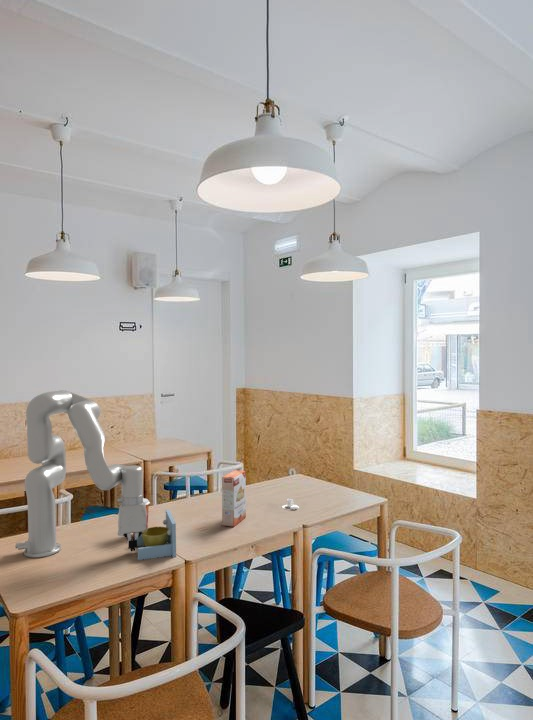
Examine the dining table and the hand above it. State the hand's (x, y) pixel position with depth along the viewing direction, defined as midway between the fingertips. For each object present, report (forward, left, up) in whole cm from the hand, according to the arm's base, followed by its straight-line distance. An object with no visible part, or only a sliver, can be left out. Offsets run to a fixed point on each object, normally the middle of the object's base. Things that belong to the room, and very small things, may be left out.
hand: (132, 549), depth 188 cm
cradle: (+7, 0, -1) cm, 7 cm away
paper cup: (+4, +19, -1) cm, 20 cm away
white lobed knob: (+72, +30, -2) cm, 78 cm away
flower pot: (+8, 0, -2) cm, 8 cm away
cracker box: (+44, +21, -2) cm, 49 cm away
